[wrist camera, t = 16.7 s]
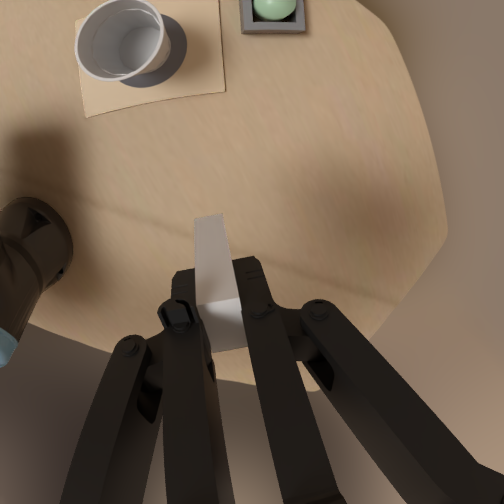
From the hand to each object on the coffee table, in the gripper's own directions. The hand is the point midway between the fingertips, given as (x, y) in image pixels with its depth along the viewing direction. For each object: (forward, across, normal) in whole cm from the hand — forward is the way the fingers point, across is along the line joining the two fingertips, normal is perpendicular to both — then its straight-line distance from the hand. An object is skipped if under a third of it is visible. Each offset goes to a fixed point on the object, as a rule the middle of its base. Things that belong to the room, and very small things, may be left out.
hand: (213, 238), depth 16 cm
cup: (+24, -5, +14) cm, 28 cm away
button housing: (+24, +10, +17) cm, 31 cm away
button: (+23, +10, +17) cm, 30 cm away
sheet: (+24, -5, +14) cm, 28 cm away
